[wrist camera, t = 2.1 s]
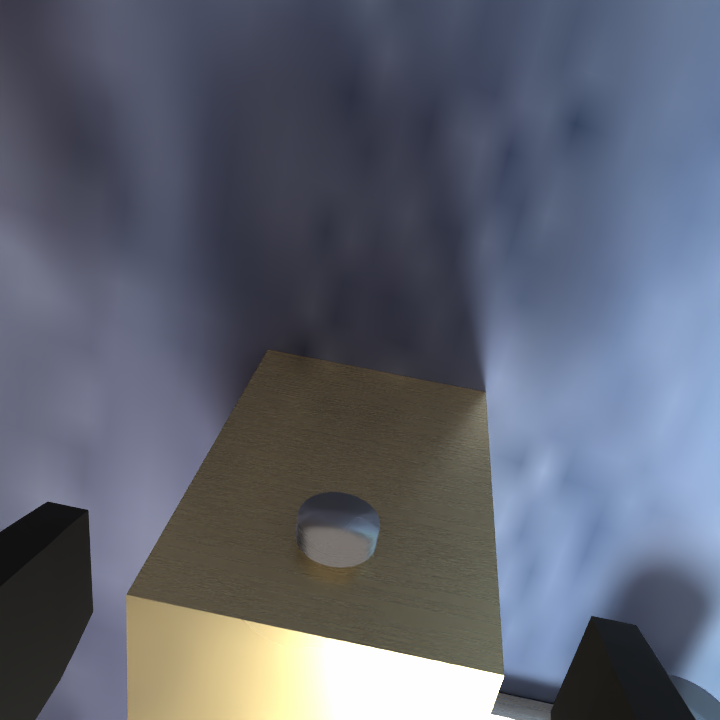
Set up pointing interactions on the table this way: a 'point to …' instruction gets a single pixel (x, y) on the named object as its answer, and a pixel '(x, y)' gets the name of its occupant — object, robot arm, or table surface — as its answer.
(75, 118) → the table surface
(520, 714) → the cream square socket base
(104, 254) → the table surface
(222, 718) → the coupling block
